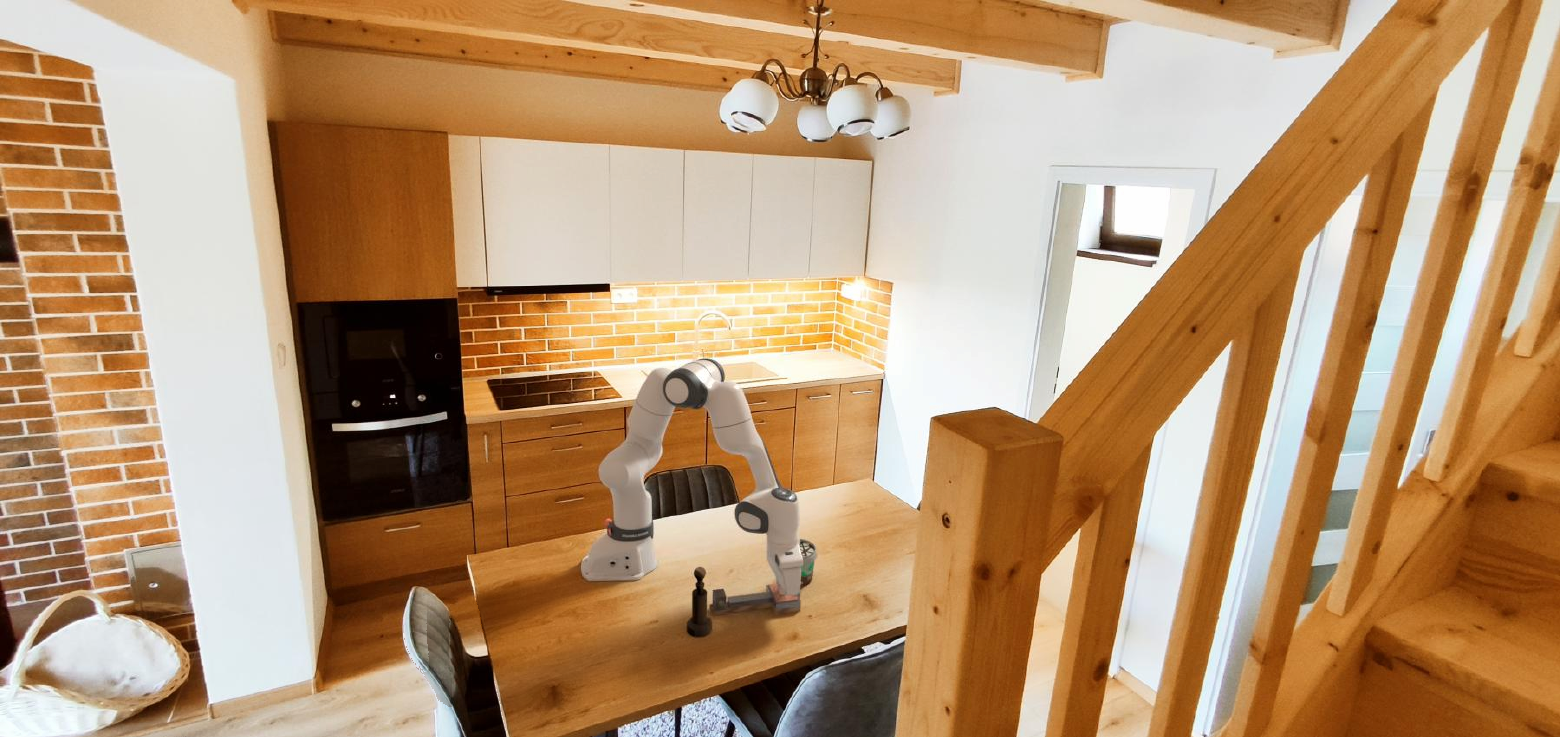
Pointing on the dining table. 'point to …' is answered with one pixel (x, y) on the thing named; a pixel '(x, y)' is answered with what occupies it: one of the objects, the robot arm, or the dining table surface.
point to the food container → (807, 561)
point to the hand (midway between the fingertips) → (781, 592)
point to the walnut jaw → (722, 606)
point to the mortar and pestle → (699, 608)
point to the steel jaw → (766, 598)
